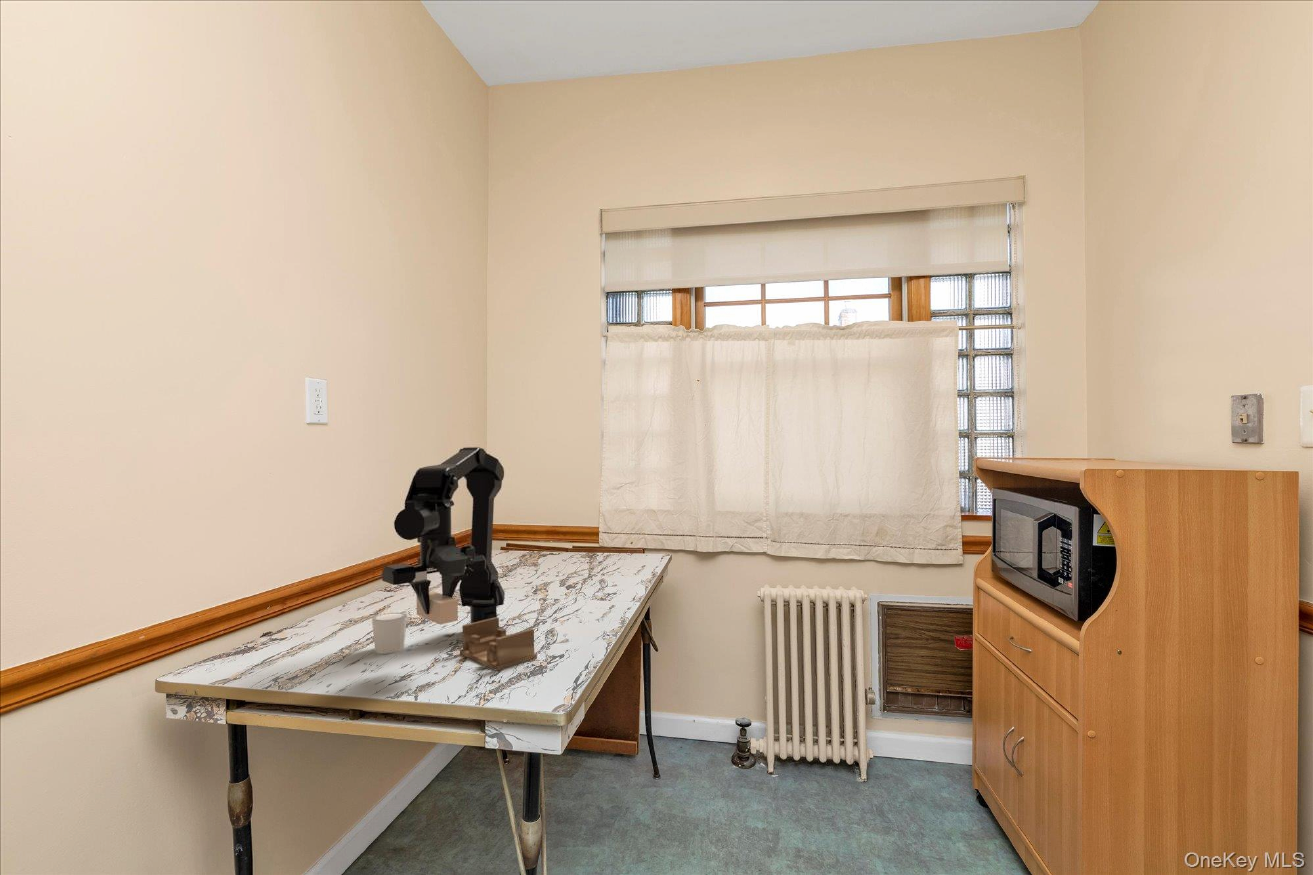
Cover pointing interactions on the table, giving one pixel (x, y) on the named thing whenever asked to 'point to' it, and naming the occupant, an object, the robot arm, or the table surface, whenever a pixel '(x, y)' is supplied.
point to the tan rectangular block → (440, 608)
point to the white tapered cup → (389, 632)
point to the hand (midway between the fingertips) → (436, 611)
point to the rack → (497, 644)
